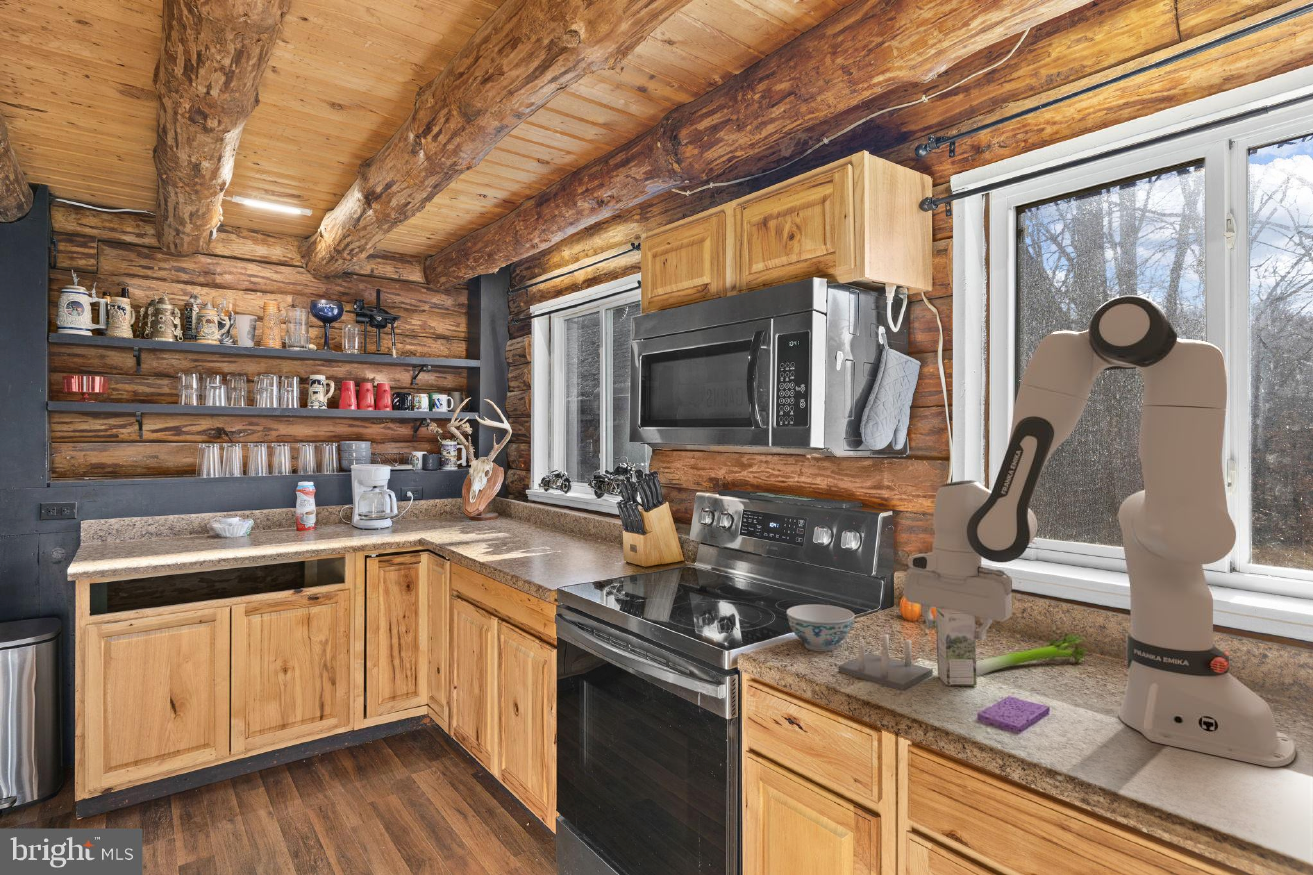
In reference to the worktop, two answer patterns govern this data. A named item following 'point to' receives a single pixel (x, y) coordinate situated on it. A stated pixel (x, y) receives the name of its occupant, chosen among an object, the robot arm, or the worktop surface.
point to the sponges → (1013, 714)
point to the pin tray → (886, 667)
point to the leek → (1033, 655)
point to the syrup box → (956, 647)
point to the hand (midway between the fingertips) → (954, 633)
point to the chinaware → (820, 625)
